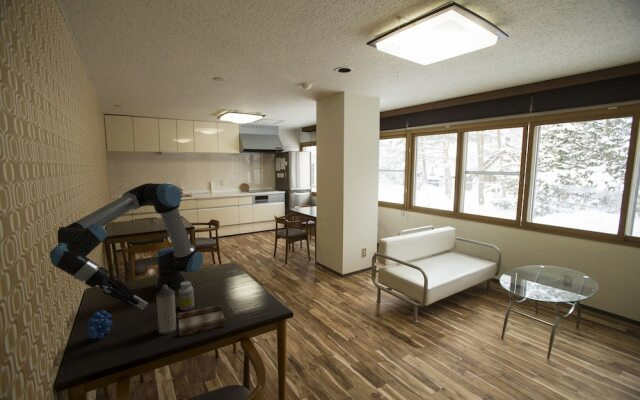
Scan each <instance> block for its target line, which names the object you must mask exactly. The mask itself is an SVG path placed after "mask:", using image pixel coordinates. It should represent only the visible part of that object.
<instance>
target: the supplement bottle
mask: <svg viewBox="0 0 640 400" xmlns="http://www.w3.org/2000/svg"><path fill="white" fill-rule="evenodd" d="M178 289H179V290H178V298H179V302H178V303H179V309H180V310H181V311H190V310H192V308H194V306H195V297H194V294H195V293H194V287H193V286H192V283H191V281H188V280H186V281H185V280H184V282H182V283H181V287H180V288H178Z"/></svg>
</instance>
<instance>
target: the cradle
mask: <svg viewBox="0 0 640 400" xmlns="http://www.w3.org/2000/svg"><path fill="white" fill-rule="evenodd" d="M177 314H178V316H177V317H178V337H183V336H188V335H192V334H197V333H201V332H205V331H210V330H213V329H218V328H222V327H227V323H228V322H227V318H226V317H225V316H224V313H223V307H222V304H218V305H212V306H208V307H202V308H196V309H190V310H185V311H183V312H178V313H177Z"/></svg>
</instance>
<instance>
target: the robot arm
mask: <svg viewBox="0 0 640 400" xmlns="http://www.w3.org/2000/svg"><path fill="white" fill-rule="evenodd" d="M181 192H182V191H181V190H180V188H179V187H178V186H176V185H175V184H172V183H152V182H151V183H149V182H148V183H147V182H146V183H144V184H141V185H138V186H136V187H134V188H131V189H130V190H128V191H126V192H124V193H122V195H121V197H119V198H117V199H115V200H113V201H111V202H110V203H108V204H106V205H103V206H102V207H100V208H98V209H96V210H94V211H92V212H91V213H89V214H86V216H82V218H79V219H78V220H76V221H73V222H72V223H70V224H68V225H66V226H58V227H59V230H58V243H59V244H58V245H56V246H55V247H53V248H52V249H51V250H50V251H49V252H50V258H51V262H52V264H53V265H52V264H51V265H52V266H54V267H55V268H57V269H59V270H62V271H63V272H65V273H66V274H69V275H70V276H71V277H73V278H74V280H78V281H80V282H82V283H83V282H84V284H85V285H87V287H88V286H89V287H90V288H91V289H92V288H96V286H97V287H99V288H100V289H101V290H103V291H102V294H104V295H108V296H109V297H112V298H114V299H116V300H118V301H121V302H122V303H125V304H128V303H130V304H132V305H134V306H135V307H137V308H139V309H141V310H142V311H143V310H144V309H145V308H146V307H147V306H148V304H149V303H148V302H147V301H145V300H144V299H142V298H141V297H139V296H137V295H136V291H133V289H131V288H129V287H128V286H127V285H125V284H124V283H123V282H122V281H120V280H119V279H118V278H117V277H116V276H113V277H111V276H108V274H109V273H110V272H109V270H107V269H106V268H105V267H103V266H100V264H98V263H97V262H95V261H93V260H92V259H90V258H88V255H89V254H90V253H91V252H92V251H94V250H95V248H97V247H98V246H99V245H100V244H101V243H103V241H104V240H105V239H106V238H107V237H108V235H109V234H108V231H107V229H105V228H104V227H105V226H107V225H108V224H111V222H114V220H116V219H118V218H120V217H121V216H124V215H125V214H127V213H128V212H130V211H132V210H138V209H139V208H141V207H142V208H143V207H147V206H148V207H149V206H151V207H153V208H154V211H155V213H156V214H159V215H160V217H161V219H162V222H163V224H164V226H165V230H166V231H167V235H168V236H169V239H170V242H171V244H172V246H169V247H164V248H160V249H158V251H157V257H156V259H157V273H158V275H157V280H156V283H155V290H156V291H158V292H159V291H160V290H161V289H162V288H163V285H167V286H168V288H170V289H171V290H174V291H175V290H177V289H180V288H181V283H182V282H185V279H184V276H183V274H182V272H184V273H196V272H197V271H199V269H200V268H201V267H202V265H203V262H204V255H203V253H202V252H200V251H197V250H196V246H195V245H193V244H191V242H190V241H191V240H190V238H189V236H188V233H187V230H186V227H185V225H184V221H183V220H182V216H181V213H180V211H179V208H180V206H181V204H180V203H181V202H182V193H181Z"/></svg>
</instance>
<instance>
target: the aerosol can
mask: <svg viewBox="0 0 640 400" xmlns="http://www.w3.org/2000/svg"><path fill="white" fill-rule="evenodd" d="M175 297H176V295H175V289H174V290H171V289H170V288H168V286H167V285H163V288H162V289H161V290H160V291H159V290H158V292H157V293H156V311H157V313H156V315H157V326H158V327H157V328H158V334H160V335H168V334H172V333H174V332H176V330H177V315H176V298H175Z"/></svg>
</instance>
